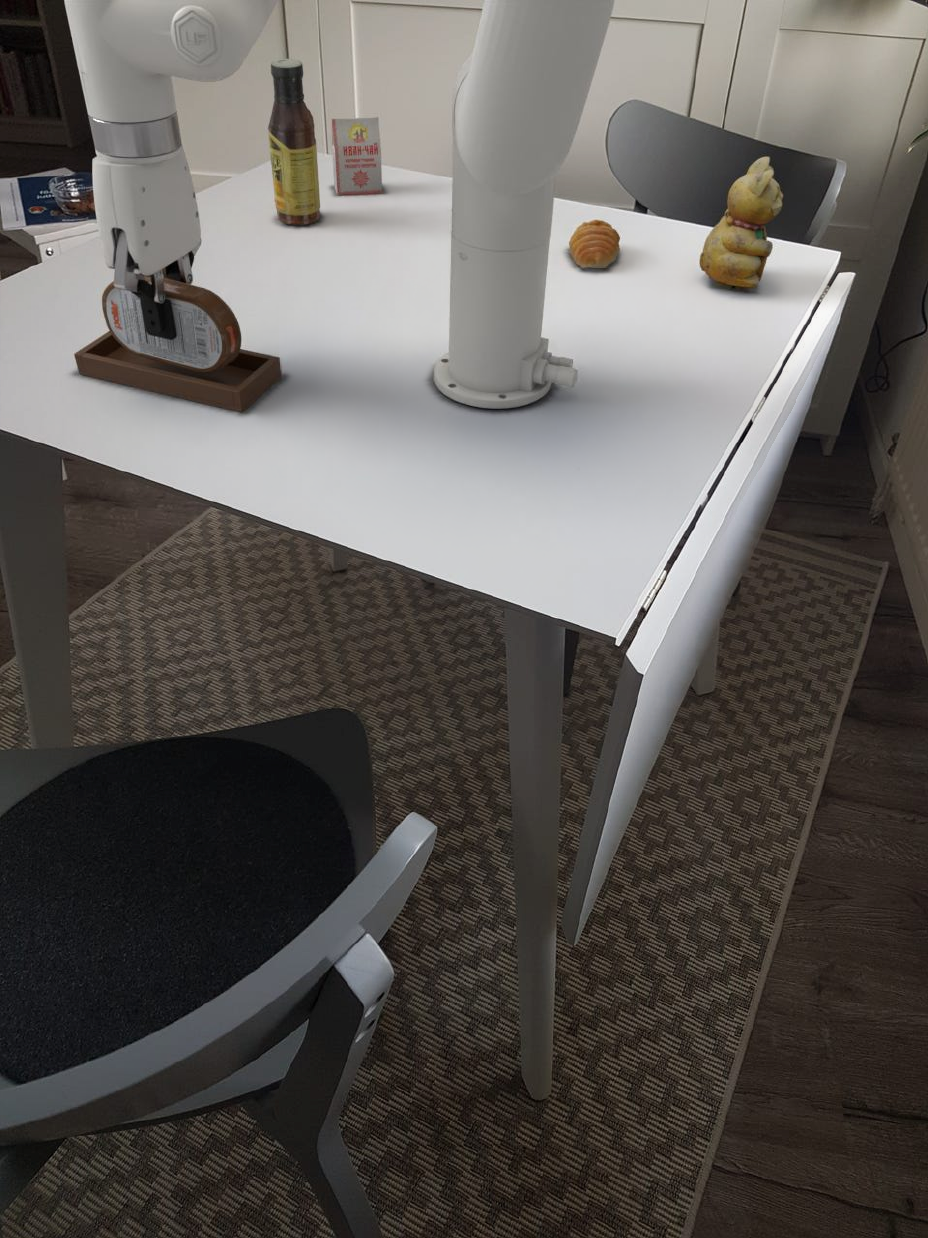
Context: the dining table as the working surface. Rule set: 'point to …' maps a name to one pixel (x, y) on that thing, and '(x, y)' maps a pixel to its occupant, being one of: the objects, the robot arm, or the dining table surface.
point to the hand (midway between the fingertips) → (171, 327)
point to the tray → (182, 374)
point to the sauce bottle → (293, 147)
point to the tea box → (356, 156)
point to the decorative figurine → (743, 230)
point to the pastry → (594, 244)
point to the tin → (177, 327)
